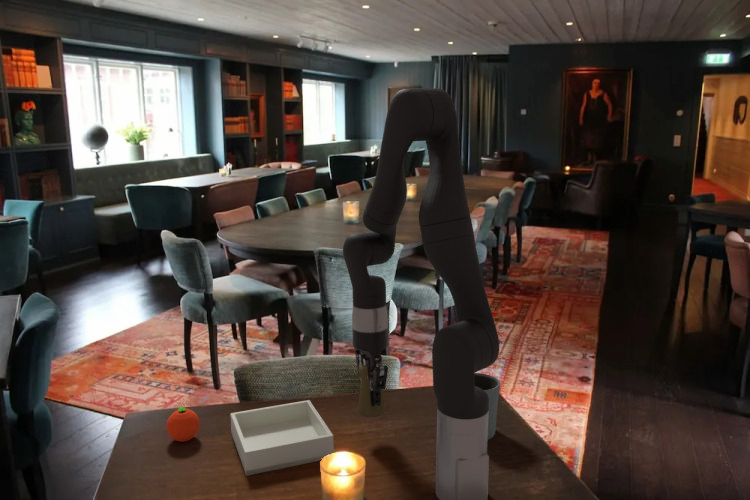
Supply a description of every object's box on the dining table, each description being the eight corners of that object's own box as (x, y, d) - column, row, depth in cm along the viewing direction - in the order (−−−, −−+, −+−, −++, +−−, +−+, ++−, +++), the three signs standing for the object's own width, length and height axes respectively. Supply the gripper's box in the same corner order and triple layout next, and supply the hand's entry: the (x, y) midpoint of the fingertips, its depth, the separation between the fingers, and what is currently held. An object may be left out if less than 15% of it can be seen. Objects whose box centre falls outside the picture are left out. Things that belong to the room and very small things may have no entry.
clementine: (165, 433, 140) (163, 403, 139) (197, 427, 143) (195, 398, 141) (169, 450, 133) (167, 419, 131) (202, 443, 136) (200, 413, 134)
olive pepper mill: (382, 418, 133) (381, 368, 131) (354, 416, 134) (353, 367, 132) (388, 406, 139) (387, 358, 136) (361, 404, 140) (360, 357, 138)
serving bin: (333, 457, 130) (333, 435, 129) (246, 475, 123) (245, 452, 122) (309, 419, 146) (309, 400, 145) (231, 434, 140) (230, 413, 139)
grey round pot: (465, 445, 134) (466, 393, 132) (445, 424, 144) (446, 375, 141) (507, 438, 137) (509, 386, 135) (485, 417, 147) (486, 369, 144)
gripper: (399, 332, 127) (400, 411, 131) (374, 314, 140) (375, 386, 144) (365, 337, 125) (367, 418, 128) (342, 318, 138) (344, 392, 141)
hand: (371, 401), depth 136 cm, fingers closed on olive pepper mill, 4 cm apart
